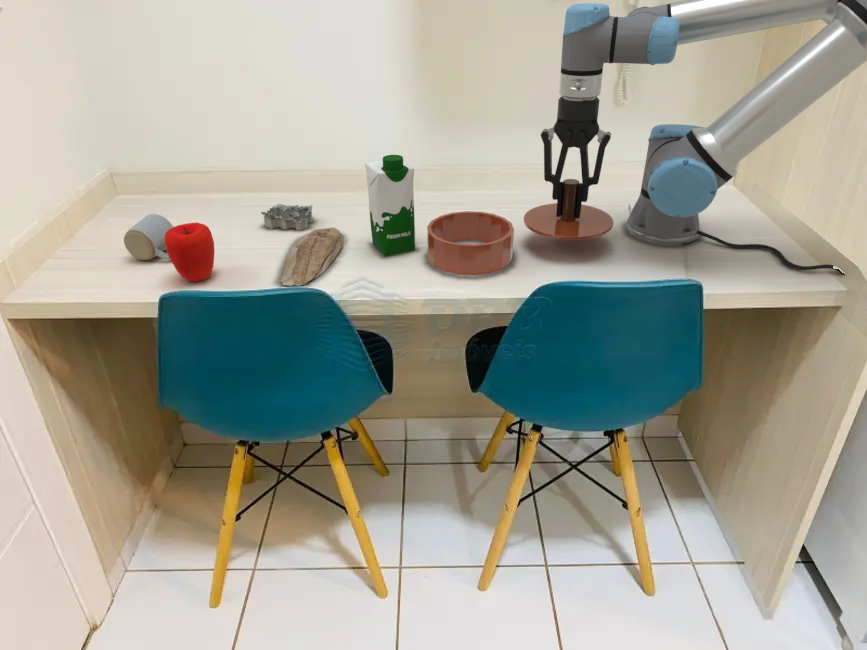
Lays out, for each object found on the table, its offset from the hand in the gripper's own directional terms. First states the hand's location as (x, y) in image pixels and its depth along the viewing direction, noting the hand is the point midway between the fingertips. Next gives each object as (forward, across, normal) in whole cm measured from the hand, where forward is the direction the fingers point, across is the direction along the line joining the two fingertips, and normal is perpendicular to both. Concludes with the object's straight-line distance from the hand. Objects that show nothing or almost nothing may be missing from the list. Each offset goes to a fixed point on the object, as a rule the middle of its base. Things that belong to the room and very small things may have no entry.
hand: (568, 214), depth 130 cm
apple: (+7, -68, -32) cm, 76 cm away
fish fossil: (+7, -50, -18) cm, 54 cm away
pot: (+7, -18, -10) cm, 22 cm away
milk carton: (+7, -36, -9) cm, 37 cm away
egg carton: (+7, -63, -3) cm, 64 cm away
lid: (+1, 0, 0) cm, 1 cm away
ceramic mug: (+7, -82, -25) cm, 86 cm away
